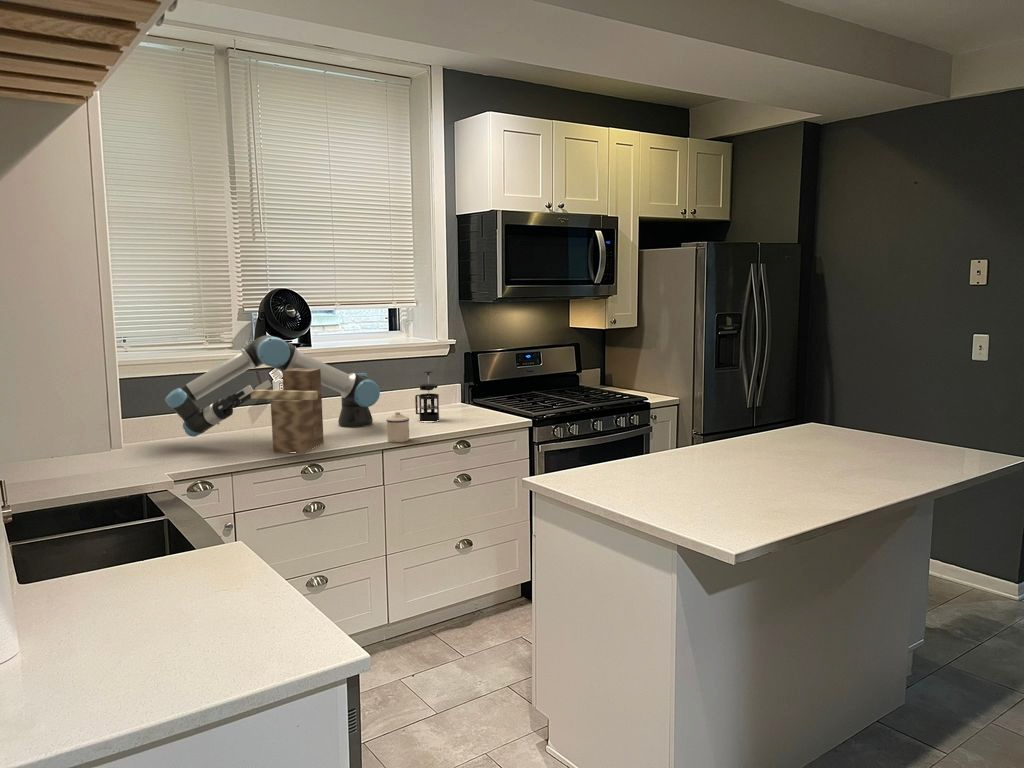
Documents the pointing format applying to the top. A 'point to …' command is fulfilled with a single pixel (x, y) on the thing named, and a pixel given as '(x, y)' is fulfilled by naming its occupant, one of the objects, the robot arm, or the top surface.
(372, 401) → the robot arm
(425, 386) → the french press
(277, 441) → the walnut shelf
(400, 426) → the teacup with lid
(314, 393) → the beech rod
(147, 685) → the top surface
